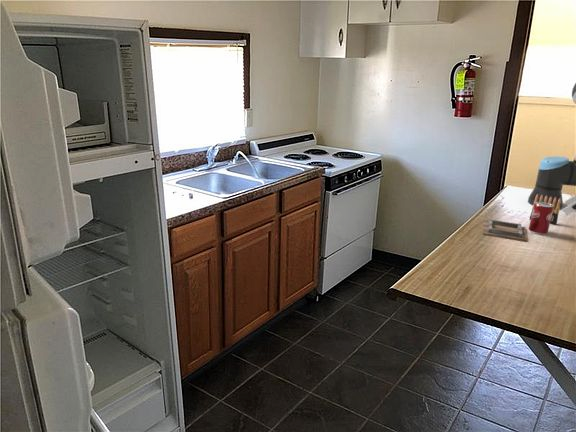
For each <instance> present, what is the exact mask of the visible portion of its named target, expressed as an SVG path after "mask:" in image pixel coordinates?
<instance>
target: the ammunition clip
mask: <svg viewBox="0 0 576 432" xmlns="http://www.w3.org/2000/svg"><path fill="white" fill-rule="evenodd" d="M542 200H543V195H541V197H540V200H539V202H542ZM536 202H538V194H537V195H536V197H535V201H534V203H536ZM544 202H546V203H547V196H546V197H545V199H544ZM551 202H552V197H550V198H549V201H548V203H550V204H551ZM560 203H561V198H559V200H558V203H557V206H556V208H555V205H556V197H555V198H554V200H553V203H552V205H553V207H554V209H553V213H552V217H551V221H550V225H553V226H557V223H558V219H559V214H560V209H561V208H560ZM533 206H534V204H533V205H532V208H531V212H530V216H529V219H528V220H531V215H532V211H533Z"/></svg>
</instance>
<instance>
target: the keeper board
mask: <svg viewBox="0 0 576 432" xmlns="http://www.w3.org/2000/svg"><path fill="white" fill-rule="evenodd" d="M526 231H527V230H526V227H525V226H522V224H521V223H514V222H508V221H502V220H496V219H495V220H494V219H490V218H489V220H484V221H483V232H482V235H483V236H488V237H489V236H490V237H496V238H501V239H502V238H503V239H506V240H507V239H509V240H515V241H520V242H526V243H527V242H528V239H527V238H528V237H527V232H526Z"/></svg>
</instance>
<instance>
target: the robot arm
mask: <svg viewBox="0 0 576 432" xmlns="http://www.w3.org/2000/svg"><path fill="white" fill-rule="evenodd" d="M571 98H572V101H573V103H574V104H575V105H576V82H575V83H574V85H573V88H572V90H571ZM563 186H572V187H576V155H575V156H574V158H573V160H570V159H569V157H565V156H545V157H544V158H542V159H541V160H540V164H539V166H538V171H537V175H536V180H535V185H534V188H533V190H532V191H531V193H530V194H529V195H528V200H527V203H528V204H530V205H532V206H533V204H534V201H535V197H536V195H537V194H538V202H539V200H540V197H541V195H543V200H542V202H544V199H545V197H546V196H547V203H548V201H549V198H550V197H552V202H551V204H552V203H553V200H554V198H555V197H556V205H555V208H556V206H557V203H558V200H559V198H561V203H560V209H562V211H563V212H564V214H565V215H566V216H568V215H571V214H572V213H574V212H575V211H576V194H575V195H573V196H571V197H569V198H568V199H565V200H563V193H562V191H563ZM563 201H564V202H563ZM563 203H565V204H566V205H567V206H566V207H564V208H562V207H563Z"/></svg>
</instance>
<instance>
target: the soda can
mask: <svg viewBox="0 0 576 432" xmlns="http://www.w3.org/2000/svg"><path fill="white" fill-rule="evenodd" d="M532 208H533V211H532V210H531V212H532V215H531V214H530V215H531V220H530V221H529V224H528V230H529V232H531V233H533V234H535V235H546V234H548V233H549V230H550V229H549V228H550V226H551V224H550V221H551V217H552V213H553V209H554V207H553V205H552V204H550V203H546V202H536V203H534V206H533V205H532Z"/></svg>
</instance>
